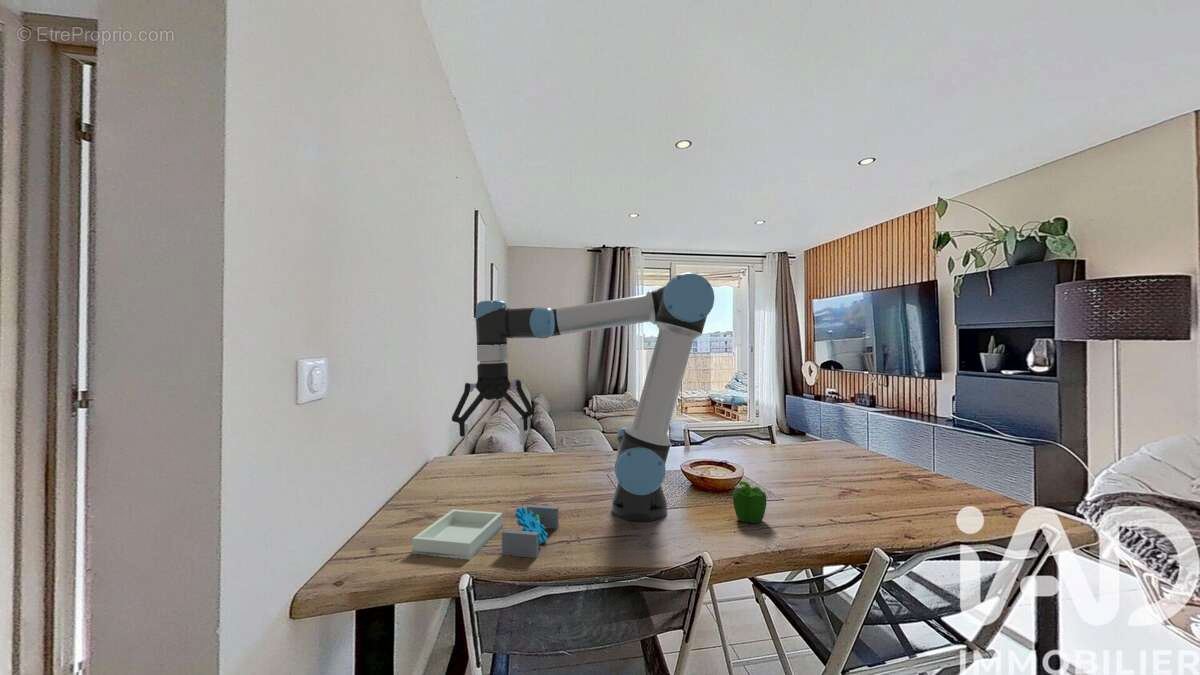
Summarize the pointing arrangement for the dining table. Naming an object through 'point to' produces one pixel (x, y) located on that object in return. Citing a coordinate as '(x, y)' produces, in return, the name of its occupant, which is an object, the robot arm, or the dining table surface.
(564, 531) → the dining table surface
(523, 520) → the gear
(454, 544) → the parts tray
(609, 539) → the dining table surface
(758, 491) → the bell pepper
